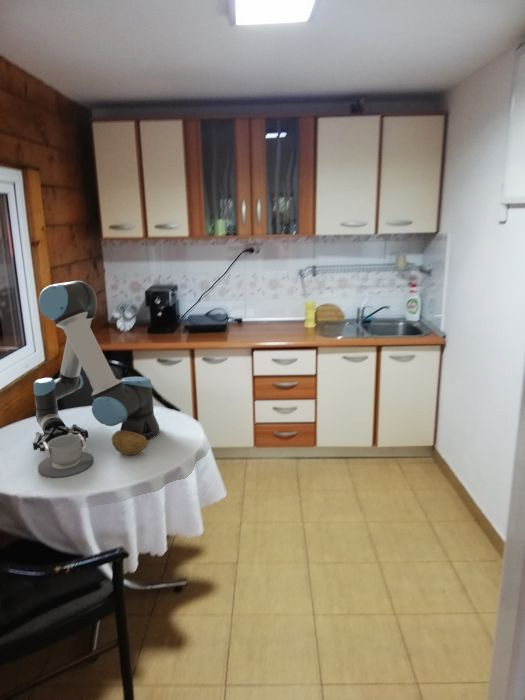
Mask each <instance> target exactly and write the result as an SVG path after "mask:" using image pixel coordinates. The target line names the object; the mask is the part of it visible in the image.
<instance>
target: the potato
mask: <svg viewBox="0 0 525 700" xmlns="http://www.w3.org/2000/svg"><path fill="white" fill-rule="evenodd" d="M111 441H112V445H113V447H114V449H115V450H116V452H119V453H122V454H124V455H126V456H132V455H137V454H141V453H142V452H143V451H144V450H145V449H146V448H147V446H148V440H146V438H145V437H144V436H143V435H140V434H138V433H134V432H130V431H124V430H122V431H120V430H118V431H116V432H114V433H113V434H112V436H111Z"/></svg>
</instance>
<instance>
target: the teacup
mask: <svg viewBox="0 0 525 700" xmlns="http://www.w3.org/2000/svg"><path fill="white" fill-rule="evenodd" d="M47 446H48V448H49V453H50V456H49V457H50V458H51V460H52V462H54V463H55V464H58V465H60V466H66V465H71V464H73V463H75V462H76V461H78V459H79V458H80V457H81V456H82V452H84V451H83V447H82V442H81V437H80V436H79V435H75V434H73V433H68V435H63V436H59V437H56V438H54V439H52V440H50V441H49V442H48V443H47Z"/></svg>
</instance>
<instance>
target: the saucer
mask: <svg viewBox="0 0 525 700" xmlns="http://www.w3.org/2000/svg"><path fill="white" fill-rule="evenodd" d="M94 462H95V460H94V456H93V454H91V453H90V452H87V451H83V452H82V456H81V457H80V458H79V459H78V461H76V462H75V463H73V464H71V465H66V466H60V465H58V464H55V463H54V462H52V460H51V458H50V456H48V457H46V458H45V459H42V461H41V462H39V464H38V465H37V471H38V473H40V474H41V475H40V474H39V475H40V476H42V475H43V476H42V477H44V476H45V477H46V478H48V477H50V479H60V478H61V479H62V478H69V477H72V476H75V475H79V474H81V473H84V472H86V471H88V469H90V468H91V467H92V466H93V465H94ZM45 477H44V478H45Z"/></svg>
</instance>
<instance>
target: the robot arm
mask: <svg viewBox="0 0 525 700" xmlns="http://www.w3.org/2000/svg"><path fill="white" fill-rule="evenodd" d="M38 308H39V310H40V313H41V314H42V315H43V317H45V318H47V319H48V320H51V321H53V322H54V325H55V326H56V327H57V328H60V329H62V330H63V332H64V334H65V336H66V341H65V346H64V350H63V357H62V360H61V367H60V371H59V376H58V378H55V379H54V378H52V377H44V378H38V379H36V380H35V381H34V382H33V394H34V400H35V407H36V409H35V410H36V414H35V417H36V418H35V419H36V423H38V424H39V427H41V430H42V432H38V431H37V432H35V437H34V440H33V442H32V446H33V450H34V451H36V450H39V452H44V453H45V454H46V455H45V456H47V457H46V458H48V457H50V453H49V448H48V446H47V443H48V442H49V441H50V440H52V439H54V438H56V437H59V436H63V435H68V433H73V434H75V435H79V436H80V437H81V442H82V449H84V448H86V442H87V439H88V438H89V431H88V430H86V429H84V428H82V427H79V426H77V424H72V426H70V427H68V426H67V425H66V424H65V422H64V421H63V419H62V418H61V416H60V415H59V407H58V400H60V399H62V398H64V397H66V396H67V395H70V394H72V393H74V392H76V391H78V390H79V389H81V388H82V387H83V385H84V380H83V376H82V375H81V371H82V370H83V371H84V374H85V376H86V378H87V379H88V382H89V383H90V386H91V388H92V392H91V398H92V400H93V402H92V405H91V406H92V407H91V413H92V415H93V417H94V419H95V420H96V421H97V422H99V423H100V424H101V425H105V426H107V427H108V426H109V427H115V426H117V425H119V424H121V425H120V430H119V431H122V430H124V431H130V432H134V433H138V434H140V435H143V436H144V437H145V438H146V440H147V441H148V440H151V439H153V437H154V436H156V435H157V434H158V433H159V434H160V432H159V431H160V425H159V423H158V421H157V418H156V416H155V413H154V412H155V411H154V399H153V386H152V385H153V384H152V381H151V379H150V378H148V377H145V376H127V377H122V378H121V379H119V378H118V379H117V378H116V376H115V374H114V372H113V370H112V368H111V366H110V364H109V362H108V361H107V359H106V356H105V354H104V353H103V351H102V349H101V346H100V344H99V343H98V341H97V339H96V336H95V334H94V333H93V330H92V328H91V325H92V320H93V319H95V317H96V314H97V310H98V309H97V308H98V297H97V293H96V292H95V290H94V288H93V287H92V286H91V285H90V284H88V283H87V282H85V281H82V280H73V281H68V282H67V281H66V282H61V283H54V284H51V285H47V286H46V287H44V288H43V289H42V290H41V292H40V293H39V297H38ZM159 434H158V435H159ZM158 435H157V436H158ZM157 436H156V437H157ZM150 438H151V439H150ZM154 438H155V437H154Z"/></svg>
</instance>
